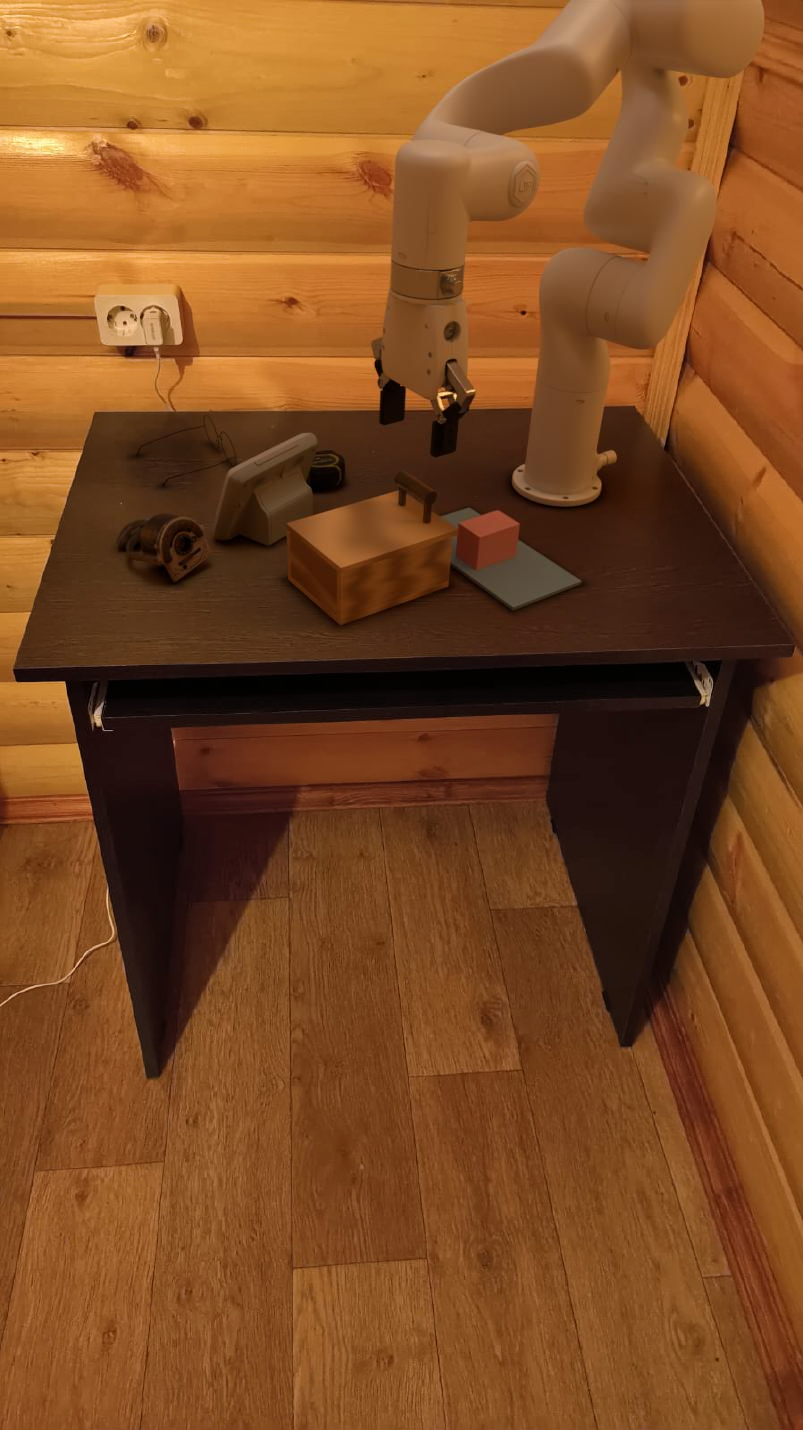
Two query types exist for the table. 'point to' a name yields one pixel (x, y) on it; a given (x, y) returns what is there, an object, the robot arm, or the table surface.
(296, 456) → the digital clock
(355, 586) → the pencil box
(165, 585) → the table surface
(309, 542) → the lid
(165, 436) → the eyeglasses
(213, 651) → the table surface
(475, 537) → the eraser
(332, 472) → the tape measure
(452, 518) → the mat
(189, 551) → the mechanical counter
